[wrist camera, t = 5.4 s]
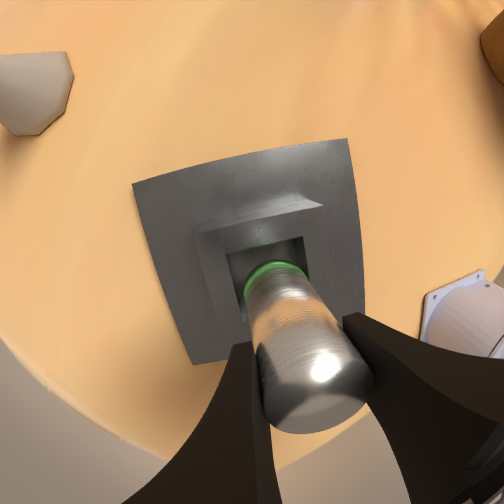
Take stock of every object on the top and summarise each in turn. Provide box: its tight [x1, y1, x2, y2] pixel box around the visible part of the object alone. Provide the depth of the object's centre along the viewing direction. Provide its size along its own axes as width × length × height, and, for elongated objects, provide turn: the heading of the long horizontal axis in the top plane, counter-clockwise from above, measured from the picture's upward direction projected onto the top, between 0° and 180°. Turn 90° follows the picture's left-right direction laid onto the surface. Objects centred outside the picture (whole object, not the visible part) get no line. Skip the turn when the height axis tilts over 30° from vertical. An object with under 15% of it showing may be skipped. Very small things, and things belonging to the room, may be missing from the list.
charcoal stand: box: [132, 138, 365, 365], centre depth 17 cm, size 14×14×4 cm
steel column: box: [243, 259, 374, 434], centre depth 10 cm, size 3×3×8 cm
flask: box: [0, 52, 74, 136], centre depth 9 cm, size 7×7×10 cm
